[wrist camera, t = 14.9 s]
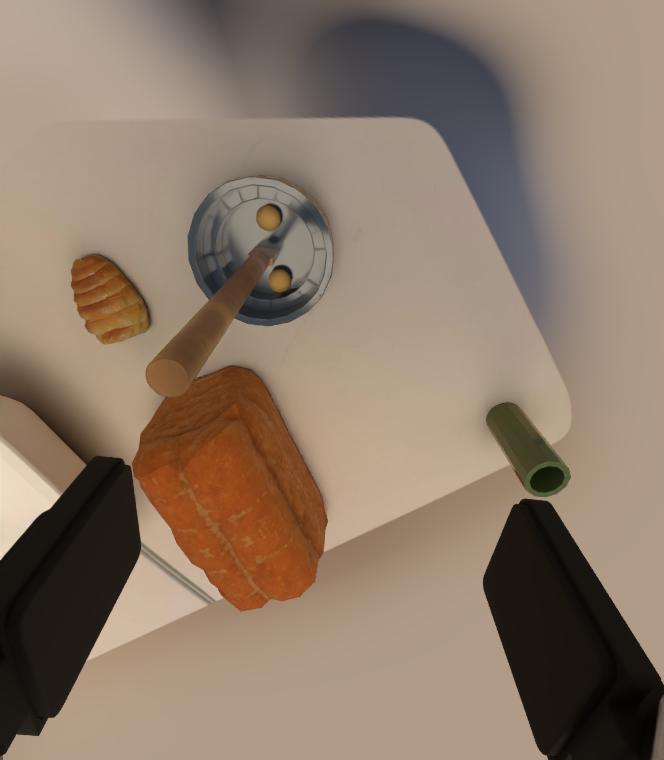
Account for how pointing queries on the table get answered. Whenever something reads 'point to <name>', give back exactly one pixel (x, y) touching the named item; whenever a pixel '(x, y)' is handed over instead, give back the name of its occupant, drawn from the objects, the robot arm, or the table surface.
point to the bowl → (242, 234)
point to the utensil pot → (527, 451)
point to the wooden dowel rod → (206, 328)
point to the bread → (234, 489)
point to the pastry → (107, 300)
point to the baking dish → (29, 469)
